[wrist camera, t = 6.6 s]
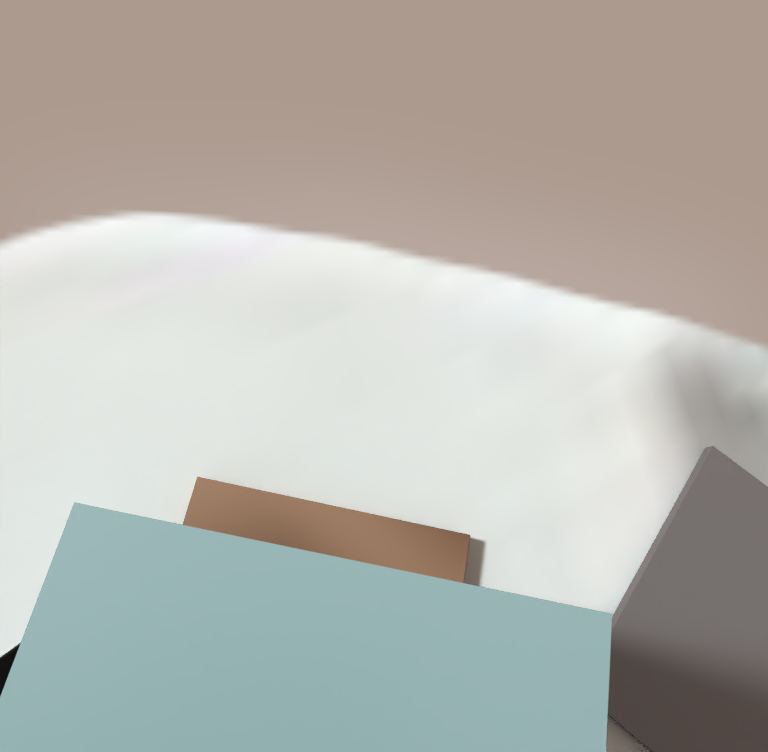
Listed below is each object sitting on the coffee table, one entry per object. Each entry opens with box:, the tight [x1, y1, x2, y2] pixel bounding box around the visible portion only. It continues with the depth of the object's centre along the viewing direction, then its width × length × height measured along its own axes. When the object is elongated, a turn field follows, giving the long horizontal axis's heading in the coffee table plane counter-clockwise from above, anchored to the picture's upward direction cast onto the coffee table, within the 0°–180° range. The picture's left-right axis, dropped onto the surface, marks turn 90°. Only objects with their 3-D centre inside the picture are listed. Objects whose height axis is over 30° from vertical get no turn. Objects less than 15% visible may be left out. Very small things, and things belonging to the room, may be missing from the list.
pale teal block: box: [0, 502, 612, 752], centre depth 10 cm, size 6×6×10 cm
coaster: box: [183, 477, 470, 583], centre depth 17 cm, size 9×9×1 cm
